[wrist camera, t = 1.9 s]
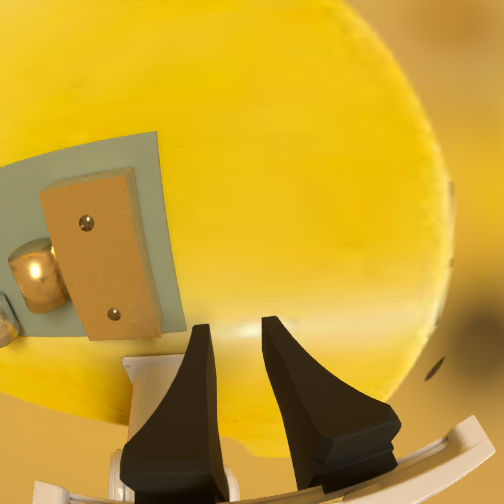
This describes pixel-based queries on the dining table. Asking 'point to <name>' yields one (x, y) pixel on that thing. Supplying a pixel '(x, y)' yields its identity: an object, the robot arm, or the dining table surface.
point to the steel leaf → (7, 323)
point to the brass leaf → (92, 257)
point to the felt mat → (34, 227)
